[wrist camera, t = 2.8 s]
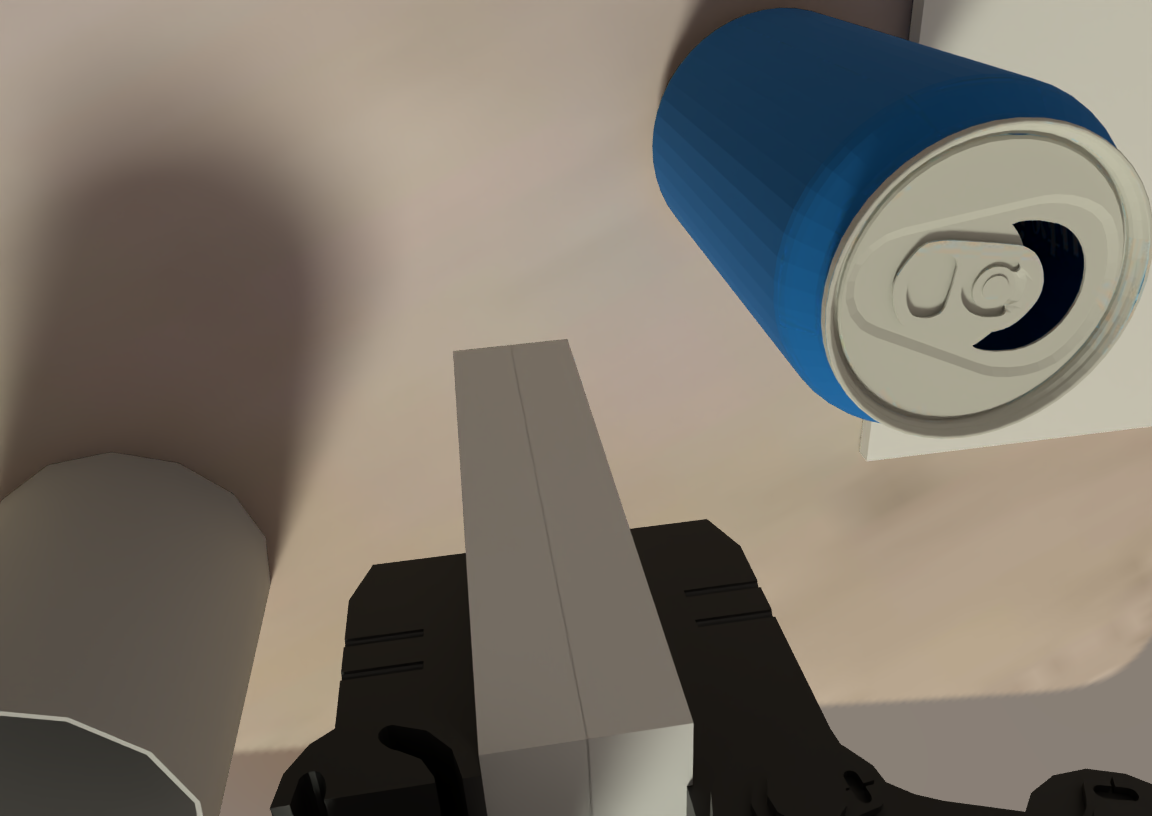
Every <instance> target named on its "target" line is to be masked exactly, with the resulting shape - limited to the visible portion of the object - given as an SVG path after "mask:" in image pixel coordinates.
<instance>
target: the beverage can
mask: <svg viewBox="0 0 1152 816" xmlns="http://www.w3.org/2000/svg"><path fill="white" fill-rule="evenodd" d="M652 147H653V163H654V168H655V174H656V178H657V181H658V184H659V187H660V190H661V193H662V195H663V197H664V199H665V201H666V203H667V205H668V206H669V208H670V209H671V211H672V212H673V214H674V215H675V217H676V218H677V219H678V220H679V222H680V223H681V224H682V226H683V227H684V228H685V229H686V231H687V232H688V233H689V235H690V236H691V237H692V238H693V240H694V241H695V242H696V243H697V245H698V246H699V247H700V249H701V250H702V251H703V252H704V254H705V255H706V256H707V258H708V259H709V260H710V261H711V263H712V264H713V265H714V267H715V268H716V269H717V270H718V272H719V273H720V274H721V276H722V277H723V278H724V279H725V281H726V282H727V283H728V285H729V286H730V287H731V288H732V290H733V291H734V292H735V294H736V295H737V296H738V297H739V299H740V300H741V301H742V303H743V304H744V305H745V306H746V308H747V309H748V310H749V312H750V313H751V314H752V315H753V317H754V318H755V319H756V321H757V322H758V323H759V324H760V326H761V327H762V328H763V329H764V331H765V332H766V333H767V335H768V336H769V337H770V338H771V340H772V341H773V342H774V344H775V345H776V346H777V347H778V349H779V350H780V351H781V353H782V354H783V355H784V356H785V358H786V359H787V360H788V362H789V363H790V364H791V365H792V367H793V368H794V369H795V371H796V372H797V373H798V374H799V376H800V377H801V378H802V379H803V380H804V381H805V382H806V383H807V385H808V386H809V387H810V388H811V389H812V390H813V391H814V392H815V393H817V394H818V395H819V396H821V397H822V398H823V399H824V400H826V401H827V402H828V403H830V404H832V405H834V406H836V407H837V408H839V409H841V410H843V411H845V412H846V413H848V414H851V415H854V416H856V417H859V418H862V419H864V420H867V421H872V422H876V423H881V424H883V425H885V426H887V427H888V428H891V429H894V430H896V431H899V432H902V433H905V434H908V435H913V436H918V437H923V438H934V439H954V438H965V437H971V436H977V435H982V434H986V433H990V432H993V431H997V430H1000V429H1003V428H1006V427H1008V426H1011V425H1013V424H1016V423H1018V422H1021V421H1023V420H1025V419H1027V418H1029V417H1031V416H1033V415H1035V414H1037V413H1039V412H1040V411H1042V410H1043V409H1045V408H1047V407H1048V406H1050V405H1051V404H1053V403H1055V402H1056V401H1058V400H1059V399H1060V398H1062V397H1063V396H1064V395H1065V394H1067V393H1068V392H1069V391H1071V390H1072V389H1073V388H1075V387H1076V386H1077V385H1078V384H1079V383H1080V382H1081V381H1082V380H1083V379H1084V378H1086V377H1087V376H1088V375H1089V374H1090V373H1091V372H1092V371H1093V370H1094V369H1095V368H1096V366H1097V365H1098V364H1099V363H1100V362H1101V361H1102V360H1103V359H1104V358H1105V357H1106V355H1107V354H1108V353H1109V351H1110V350H1111V349H1112V347H1113V346H1114V345H1115V343H1116V342H1117V341H1118V339H1119V338H1120V336H1121V335H1122V333H1123V331H1124V330H1125V328H1126V326H1127V325H1128V323H1129V321H1130V320H1131V318H1132V316H1133V314H1134V311H1135V309H1136V307H1137V305H1138V303H1139V301H1140V299H1141V296H1142V293H1143V290H1144V287H1145V284H1146V281H1147V278H1148V273H1149V269H1150V265H1151V260H1152V212H1151V207H1150V202H1149V198H1148V196H1147V193H1146V190H1145V188H1144V185H1143V182H1142V180H1141V179H1140V177H1139V175H1138V174H1137V172H1136V170H1135V168H1134V167H1133V165H1132V164H1131V163H1130V162H1129V161H1128V159H1127V158H1126V157H1125V156H1124V155H1123V154H1122V152H1121V151H1120V150H1118V149H1117V147H1116V145H1115V144H1114V142H1113V140H1112V139H1111V137H1110V135H1109V133H1108V132H1107V130H1106V128H1105V127H1104V126H1103V125H1102V124H1101V122H1100V121H1099V120H1098V119H1097V118H1096V117H1095V115H1094V114H1093V113H1092V112H1091V111H1090V110H1089V109H1088V108H1086V107H1085V106H1084V105H1083V104H1082V103H1080V102H1079V101H1078V100H1077V99H1075V98H1074V97H1073V96H1072V95H1070V94H1068V93H1066V92H1064V91H1063V90H1061V89H1059V88H1057V87H1055V86H1054V85H1051V84H1048V83H1045V82H1042V81H1039V80H1036V79H1034V78H1030V77H1027V76H1024V75H1021V74H1017V73H1014V72H1011V71H1007V70H1004V69H1001V68H998V67H994V66H991V65H988V64H984V63H981V62H978V61H974V60H971V59H968V58H965V57H961V56H958V55H955V54H951V53H948V52H945V51H942V50H938V49H935V48H932V47H928V46H925V45H922V44H918V43H915V42H912V41H909V40H905V39H902V38H899V37H895V36H892V35H889V34H885V33H882V32H879V31H876V30H872V29H869V28H866V27H862V26H859V25H856V24H853V23H849V22H846V21H843V20H839V19H836V18H833V17H829V16H826V15H823V14H820V13H816V12H813V11H809V10H803V9H797V8H775V9H767V10H761V11H757V12H754V13H750V14H747V15H744V16H742V17H739V18H737V19H735V20H732V21H730V22H729V23H727V24H725V25H723V26H722V27H720V28H718V29H717V30H715V31H714V32H713V33H711V34H710V35H709V36H707V37H706V38H705V39H703V40H702V41H701V42H700V43H699V44H698V45H697V46H696V47H695V48H694V49H693V50H692V51H691V52H690V53H689V54H688V55H687V57H686V58H685V59H684V60H683V62H682V63H681V64H680V65H679V67H678V68H677V70H676V72H675V73H674V75H673V76H672V78H671V80H670V81H669V83H668V86H667V88H666V90H665V92H664V94H663V96H662V99H661V102H660V105H659V108H658V111H657V115H656V120H655V125H654V131H653V145H652Z"/></svg>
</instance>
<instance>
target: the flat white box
mask: <svg viewBox="0 0 1152 816" xmlns="http://www.w3.org/2000/svg"><path fill="white" fill-rule="evenodd" d="M909 41H912V42H915V43H918V44H922V45H925V46H928V47H932V48H935V49H938V50H942V51H945V52H948V53H951V54H955V55H958V56H961V57H965V58H968V59H971V60H974V61H978V62H981V63H984V64H988V65H991V66H994V67H998V68H1001V69H1004V70H1007V71H1011V72H1014V73H1017V74H1021V75H1024V76H1027V77H1030V78H1034V79H1036V80H1039V81H1042V82H1045V83H1048V84H1051V85H1054V86H1055V87H1057V88H1059V89H1061V90H1063V91H1064V92H1066V93H1068V94H1070V95H1072V96H1073V97H1074V98H1075V99H1077V100H1078V101H1079V102H1080V103H1082V104H1083V105H1084V106H1085V107H1086V108H1088V109H1089V110H1090V111H1091V112H1092V113H1093V114H1094V115H1095V117H1096V118H1097V119H1098V120H1099V121H1100V122H1101V124H1102V125H1103V126H1104V127H1105V128H1106V130H1107V132H1108V133H1109V135H1110V137H1111V139H1112V140H1113V142H1114V144H1115V145H1116V147H1117V149H1118V150H1120V151H1121V152H1122V154H1123V155H1124V156H1125V157H1126V158H1127V159H1128V161H1129V162H1130V163H1131V164H1132V165H1133V167H1134V168H1135V170H1136V172H1137V174H1138V175H1139V177H1140V179H1141V180H1142V182H1143V185H1144V188H1145V190H1146V193H1147V196H1148V198H1149V202H1150V207H1151V212H1152V0H914V1H913V9H912V17H911V26H910V34H909ZM1151 426H1152V260H1151V265H1150V269H1149V273H1148V278H1147V281H1146V284H1145V287H1144V290H1143V293H1142V296H1141V299H1140V301H1139V303H1138V305H1137V307H1136V309H1135V311H1134V314H1133V316H1132V318H1131V320H1130V321H1129V323H1128V325H1127V326H1126V328H1125V330H1124V331H1123V333H1122V335H1121V336H1120V338H1119V339H1118V341H1117V342H1116V343H1115V345H1114V346H1113V347H1112V349H1111V350H1110V351H1109V353H1108V354H1107V355H1106V357H1105V358H1104V359H1103V360H1102V361H1101V362H1100V363H1099V364H1098V365H1097V366H1096V368H1095V369H1094V370H1093V371H1092V372H1091V373H1090V374H1089V375H1088V376H1087V377H1086V378H1084V379H1083V380H1082V381H1081V382H1080V383H1079V384H1078V385H1077V386H1076V387H1075V388H1073V389H1072V390H1071V391H1069V392H1068V393H1067V394H1065V395H1064V396H1063V397H1062V398H1060V399H1059V400H1058V401H1056V402H1055V403H1053V404H1051V405H1050V406H1048V407H1047V408H1045V409H1043V410H1042V411H1040V412H1039V413H1037V414H1035V415H1033V416H1031V417H1029V418H1027V419H1025V420H1023V421H1021V422H1018V423H1016V424H1013V425H1011V426H1008V427H1006V428H1003V429H1000V430H997V431H993V432H990V433H986V434H982V435H977V436H971V437H965V438H954V439H934V438H923V437H918V436H913V435H908V434H905V433H902V432H899V431H896V430H894V429H891V428H888V427H887V426H885V425H883V424H881V423H876V422H872V421H867V420H864V419H863V426H862V434H861V442H860V451H859V452H860V453H861V455H862V456H863V457H864V459H865V460H866V461H874V460H882V459H890V458H898V457H906V456H914V455H922V454H931V453H939V452H947V451H955V450H963V449H971V448H980V447H988V446H996V445H1004V444H1012V443H1020V442H1028V441H1037V440H1045V439H1053V438H1061V437H1069V436H1077V435H1086V434H1094V433H1102V432H1110V431H1118V430H1126V429H1135V428H1143V427H1151Z"/></svg>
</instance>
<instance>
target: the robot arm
mask: <svg viewBox="0 0 1152 816" xmlns="http://www.w3.org/2000/svg"><path fill="white" fill-rule="evenodd" d="M453 359H454V375H455V390H456V406H457V422H458V438H459V453H460V469H461V485H462V501H463V516H464V532H465V548H466V553H463V554H455V555H447V556H439V557H431V558H424V559H416V560H408V561H400V562H392V563H384V564H377V565H373V566H372V567H371V569H370V570H369V572H368V573H367V575H366V576H365V578H364V579H363V581H362V582H361V583H360V585H359V586H358V588H357V589H356V591H355V592H354V594H353V595H352V597H351V598H350V600H349V605H348V614H347V623H346V632H345V647H344V651H343V660H342V669H341V674H342V681H340V687H339V697H338V706H337V715H336V724H335V729H334V730H332V731H330V732H329V733H327V734H326V735H324V736H322V737H321V738H319V739H318V740H316V741H314V742H313V743H311V744H310V745H309V746H308V747H307V748H306V749H305V750H304V751H303V752H302V754H301V755H300V756H299V757H298V758H297V759H296V760H295V761H294V763H293V764H292V765H291V766H290V767H289V768H288V769H287V770H286V772H285V773H284V774H283V776H282V779H281V781H280V784H279V786H278V789H277V792H276V794H275V797H274V799H273V802H272V804H271V807H270V810H271V813H272V816H1152V784H1150V783H1148V782H1145V781H1142V780H1140V779H1137V778H1135V777H1132V776H1130V775H1127V774H1123V773H1115V772H1107V771H1099V770H1091V769H1083V770H1078V771H1073V772H1068V773H1063V774H1058V775H1053V776H1052V777H1051V778H1050V779H1048V780H1047V781H1046V782H1044V783H1043V784H1042V785H1041V786H1040V787H1038V788H1037V789H1036V790H1034V791H1033V792H1032V793H1031V795H1030V799H1029V802H1028V805H1027V808H1026V812H1022V811H1015V810H1006V809H999V808H992V807H985V806H977V805H970V804H962V803H955V802H947V801H942V800H937V799H933V798H929V797H924V796H920V795H916V794H913V793H910V792H908V791H905V790H903V789H901V788H898V787H896V786H894V785H891V784H889V783H886V782H885V780H884V779H883V778H882V777H881V775H880V774H879V773H878V772H877V770H876V769H875V768H874V766H873V765H871V764H870V763H868V762H867V761H865V760H864V759H862V758H861V757H859V756H858V755H856V754H855V753H853V752H852V751H850V750H849V749H847V748H846V747H844V746H842V745H841V744H840V743H839V741H838V740H837V738H836V737H835V735H834V734H833V732H832V730H831V729H830V727H829V725H828V723H827V721H826V719H825V717H824V715H823V713H822V711H821V709H820V707H819V705H818V703H817V701H816V699H815V697H814V695H813V693H812V690H811V688H810V686H809V684H808V682H807V680H806V678H805V676H804V674H803V672H802V670H801V668H800V666H799V664H798V662H797V660H796V658H795V656H794V654H793V652H792V650H791V648H790V646H789V644H788V642H787V640H786V638H785V636H784V634H783V632H782V630H781V628H780V626H779V624H778V621H777V619H776V617H773V616H772V610H771V607H770V605H769V603H768V601H767V599H766V597H765V595H764V593H763V591H762V589H761V587H758V584H757V579H756V577H755V575H754V573H753V571H752V569H751V567H750V565H749V563H748V561H747V559H746V557H745V555H744V552H743V550H742V548H741V546H740V545H738V544H737V543H736V542H735V541H733V540H732V539H731V538H730V537H728V536H727V535H726V534H725V533H724V532H722V531H721V530H720V529H719V528H717V527H716V526H715V525H714V524H712V523H711V522H710V521H709V520H707V519H704V520H697V521H689V522H681V523H673V524H665V525H657V526H649V527H642V528H634V529H630V528H629V525H628V522H627V519H626V516H625V513H624V510H623V507H622V504H621V501H620V498H619V495H618V492H617V489H616V486H615V483H614V480H613V477H612V474H611V471H610V467H609V464H608V461H607V458H606V455H605V452H604V449H603V446H602V443H601V440H600V437H599V434H598V431H597V428H596V425H595V422H594V419H593V416H592V413H591V410H590V407H589V404H588V401H587V398H586V394H585V391H584V388H583V385H582V382H581V379H580V376H579V373H578V370H577V367H576V364H575V361H574V358H573V355H572V352H571V349H570V346H569V343H568V340H567V339H564V340H554V341H545V342H535V343H526V344H516V345H507V346H497V347H488V348H478V349H469V350H459V351H453Z"/></svg>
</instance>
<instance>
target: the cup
mask: <svg viewBox="0 0 1152 816" xmlns="http://www.w3.org/2000/svg"><path fill="white" fill-rule="evenodd" d="M270 585H271V581H270V573H269V564H268V555H267V546H266V537H265V536H264V535H263V533H262V532H261V531H260V529H259V528H258V527H257V525H256V524H255V523H254V521H253V520H252V519H251V517H250V516H249V515H248V513H247V512H246V511H245V509H244V508H243V507H242V505H241V504H240V503H239V501H238V500H237V498H236V497H235V496H234V494H232V493H230V492H229V491H227V490H225V489H223V488H222V487H220V486H218V485H216V484H215V483H213V482H211V481H209V480H207V479H206V478H204V477H202V476H200V475H199V474H197V473H195V472H193V471H192V470H190V469H188V468H186V467H184V466H183V465H181V464H179V463H175V462H169V461H163V460H157V459H151V458H144V457H138V456H132V455H126V454H120V453H114V452H109V453H104V454H100V455H95V456H90V457H85V458H80V459H75V460H70V461H66V462H61V463H56V464H51V465H47V466H46V467H45V468H43V469H42V470H41V471H39V472H38V473H37V474H35V475H34V476H33V477H31V478H30V479H29V480H27V481H26V482H25V483H23V484H22V485H21V486H20V487H18V488H17V489H16V490H14V491H13V492H12V493H10V494H9V495H8V496H6V497H5V498H4V499H3V500H2V501H1V502H0V816H219V814H220V809H221V805H222V800H223V796H224V791H225V787H226V782H227V778H228V773H229V769H230V764H231V760H232V755H233V751H234V746H235V742H236V737H237V733H238V728H239V724H240V719H241V715H242V710H243V706H244V701H245V697H246V693H247V688H248V684H249V679H250V675H251V670H252V666H253V661H254V657H255V652H256V648H257V643H258V639H259V634H260V630H261V625H262V621H263V616H264V612H265V607H266V603H267V598H268V594H269V589H270Z"/></svg>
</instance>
